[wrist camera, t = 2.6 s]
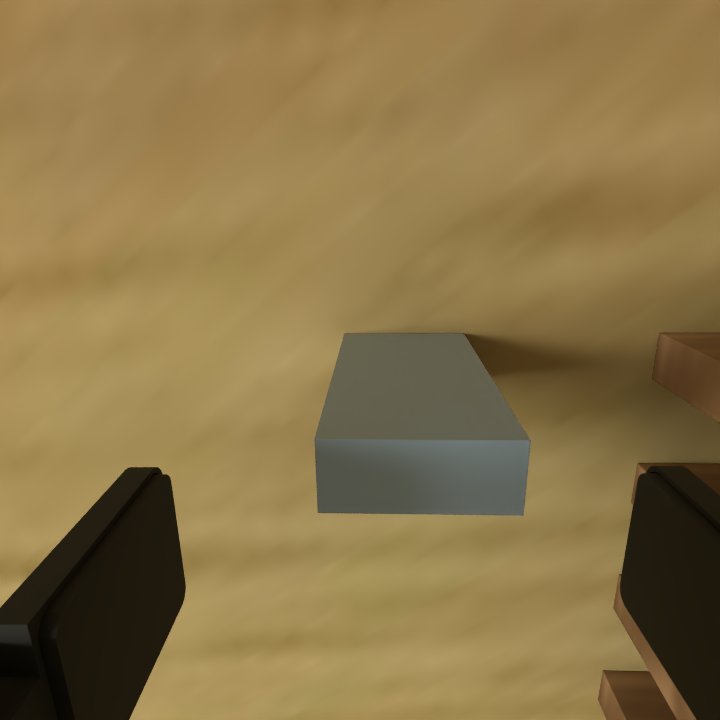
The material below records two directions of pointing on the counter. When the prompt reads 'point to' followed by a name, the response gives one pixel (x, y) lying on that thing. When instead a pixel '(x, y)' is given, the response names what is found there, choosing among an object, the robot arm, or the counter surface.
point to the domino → (418, 431)
